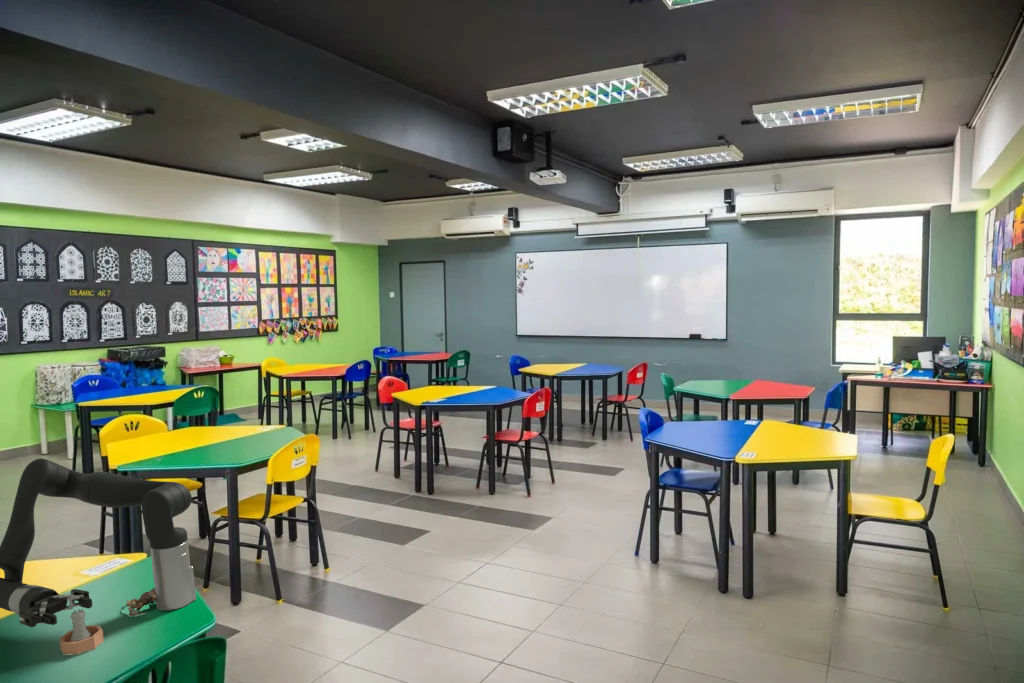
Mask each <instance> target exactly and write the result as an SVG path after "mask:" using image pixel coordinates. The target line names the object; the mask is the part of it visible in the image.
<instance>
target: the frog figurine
mask: <svg viewBox="0 0 1024 683" xmlns="http://www.w3.org/2000/svg"><path fill="white" fill-rule="evenodd" d="M126 600H127V601H126V606H129V608H128V609H129V612H130V613H129V614H128V615H129V616H128V617H130V616H135V617H138V616H137V615H139V616H142V615H141V614H143V615H146V614H145V613H143V612H140V613H141V614H138V613H139V612H138V613H137V611H136V610H140V609H141V608H142V607H143V606H144V605H147V604H149V603H150V602H156V597H155V587H153V588H152V589H151V590H149V591H145V592H143V593H142V594H141V595H140V597H139V598H138V599H137V598H131V599H130V600H128V599H126ZM133 604H134V605H133ZM134 607H135V608H137V609H136V610H134V609H132V608H134Z"/></svg>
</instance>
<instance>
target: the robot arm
mask: <svg viewBox="0 0 1024 683" xmlns="http://www.w3.org/2000/svg"><path fill="white" fill-rule="evenodd" d="M39 495H42V496H45V497H52V498H53V497H54V498H71V499H75V500H78V501H81V502H84V503H87V504H91V505H95V506H99V507H104V508H113V509H115V508H117V509H118V508H130V507H139V506H141V514H142V519H143V520H142V522H143V526H144V531H145V532H144V533H145V535H146V538H147V539H148V542H149V546H150V547H149V548H150V558H151V566H152V577H153V586H154V587H155V597H156V601H155V602H156V605H155V607H156V608H157V609H156V610H159V611H163V612H164V611H165V610H166V611H173V609H174V610H177V609H180V608H183V607H186V606H188V605H189V604H191V603H192V602H194V601H197V593H196V585H195V584H196V583H195V574H194V567H193V565H191V559H190V550H189V548H190V547H189V539H188V532H187V530H186V529H185V528H184V527H179V526H177V527H176V526H175V525H174V520H173V518H175V517H176V516H179V515H181V514H183V513H184V512H185V511H187V510H188V508H190V506H191V504H192V500H193V496H192V493H191V491H190V490H189V489H188V488H187V486H185V485H184V484H181V483H180V482H176V481H164V480H163V481H159V480H148V479H142V478H138V477H133V476H127V475H121V474H118V473H114V472H113V473H111V472H108V471H107V472H106V471H95V472H91V473H83V472H79V471H76V470H74V469H73V470H72V469H70V468H69V467H66V466H63V465H61V464H59V463H57V462H54V461H51V460H50V459H46V458H36V459H34V460H32V461H30V462H29V463H28V464H27V465H26V467H25V468H24V470H23V471H22V474H21V476H20V479H19V482H18V486H17V490H16V494H15V498H14V502H13V506H12V512H11V515H10V518H9V522H8V525H7V528H6V531H5V534H4V536H3V538H2V541H1V543H0V570H2V571H3V572H4V578H3V577H0V609H2V610H5V611H7V612H11V613H14V614H17V615H18V617H19V624H21V625H24V626H26V627H29V628H34V627H36V626H37V625H38V624H39V625H44V624H46V625H52V626H54V625H57V624H58V618H57V617H58V616H57V615H56V613H60V612H62V611H68V610H73V609H74V608H76V607H81V608H84V609H88V610H89V609H91V608H92V607H93V599H92V598H90V592H89V591H88V590H83V589H76V588H73V589H71V590H70V593H69V594H59V593H58V591H56V590H55V589H53V588H48V587H45V586H41V585H36V584H28V583H24V582H23V578H24V571H25V563H26V560H27V558H28V556H29V554H30V551H31V549H32V546H33V544H34V541H35V540H34V539H35V536H36V535H35V534H36V531H35V530H36V529H35V528H36V526H35V525H36V524H35V508H36V507H35V505H36V502H37V499H38V496H39ZM154 587H153V588H154ZM75 601H76V602H75ZM68 603H69V605H68Z"/></svg>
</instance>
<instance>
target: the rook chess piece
mask: <svg viewBox="0 0 1024 683" xmlns="http://www.w3.org/2000/svg"><path fill="white" fill-rule="evenodd" d="M86 615H87V613H86V611H85V610H84V609H77V610H76V609H75V610H73V612H71V615H70V617H69V618H70V619H71V620H72V622H71V624H72V627H73V628H72V630H73V634H72V637H71V638H70V641H71V642H78V641H81V640H84V639H86V638H89V637H90V635H91V634H90V632H88V630H87V629H86V626H87V625H86V618H85V616H86Z"/></svg>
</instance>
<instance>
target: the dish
mask: <svg viewBox="0 0 1024 683" xmlns="http://www.w3.org/2000/svg"><path fill="white" fill-rule="evenodd" d="M85 626H86V629H87V630H88V632H90V634H91V635H90V637H89V638H86V639H84V640H81V641H78V642H71V641H70V638H71V637H72V634H73V629H71V630H69V631H67V632H66V633H64V634H63V635H62V636H60V637H59V638H58V644H59V650H61V651H62V652H61V651H60V652H61V654H62V653H63V654H64V655H67V654H79V653H82V652H85V651H88V652H90V651H89V650H91V651H93V650H96V649H97V648H98V647H99V646H100V645H101V644H103V643H104V641H105V640H104V630H103V628H102V627H101V626H100V625H99V624H91V625H85ZM98 645H99V646H98ZM97 646H98V647H97ZM96 647H97V648H96ZM92 649H93V650H92ZM85 653H86V652H85ZM63 654H62V655H63ZM64 655H63V656H64Z"/></svg>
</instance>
